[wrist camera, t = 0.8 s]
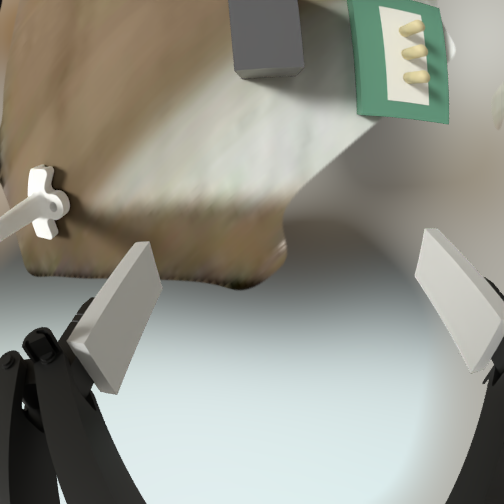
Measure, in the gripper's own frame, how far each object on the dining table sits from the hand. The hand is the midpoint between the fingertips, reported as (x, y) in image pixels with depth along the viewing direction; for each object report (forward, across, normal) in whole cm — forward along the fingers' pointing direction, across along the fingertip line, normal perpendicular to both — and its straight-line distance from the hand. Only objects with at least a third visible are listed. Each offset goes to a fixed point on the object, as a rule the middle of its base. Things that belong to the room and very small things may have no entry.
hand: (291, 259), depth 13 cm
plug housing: (+23, 0, +15) cm, 28 cm away
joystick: (+23, -33, -2) cm, 40 cm away
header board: (+23, +16, +13) cm, 31 cm away
